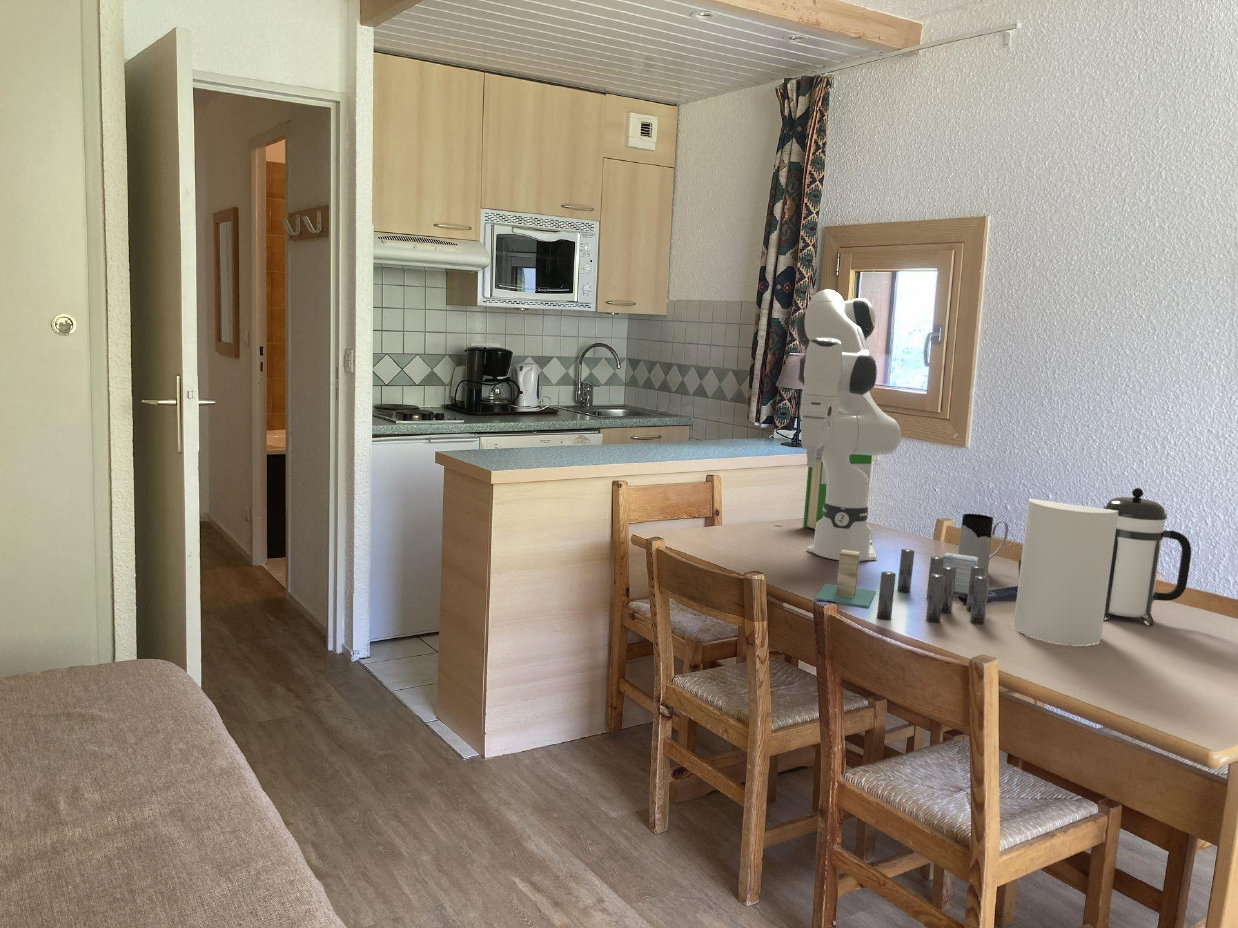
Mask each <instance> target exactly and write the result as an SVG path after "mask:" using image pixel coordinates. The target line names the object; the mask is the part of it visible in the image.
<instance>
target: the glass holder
mask: <svg viewBox="0 0 1238 928" xmlns="http://www.w3.org/2000/svg"><path fill="white" fill-rule="evenodd" d="M961 521H962V522H961V526H960V532H959V533H960V534H959V541H958V549H957V554H960V555H967V556H973V557H978V566H982V567H985V574H984V576H985V577H989V576H990V573H989V563H990V560H991V559H992V558H993V557H994V556H995V555H996V554H997V553H998V552H999V551H1000V550H1002V548H1003V546H1004V545H1005V543H1006V541H1007V538H1008V534H1009V525H1008V523H1006V521H1003V520H999V521H997V522H995V524H994V523H993V522H994V517H992V516H989V515H985V514H979V513H963V514H962V520H961ZM1000 523H1003V524H1004V526H1005V532H1004V537H1003V540H1002V542H1000V545H999V546H998V548H996V550H995V551H994V552H993V553H991V547H992V540H993V539H992V538H993V537H994V536H995V534H996V529H997V526H998V525H1000ZM993 524H994V525H993ZM988 575H989V576H988Z"/></svg>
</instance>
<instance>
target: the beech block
mask: <svg viewBox="0 0 1238 928" xmlns="http://www.w3.org/2000/svg"><path fill="white" fill-rule="evenodd" d="M859 554H860V552H857V551H849V550H842V551H841V552H840V557H839V560H838V566H837V567H838V570H837V580H836V585H837V588H836V595H838V596H845V597H851V598H854V596H855V594H856V588H857V585H858V583H857V582H858V576H859V575H858V573H859V564H860V561H859Z"/></svg>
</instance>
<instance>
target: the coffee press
mask: <svg viewBox="0 0 1238 928" xmlns="http://www.w3.org/2000/svg"><path fill="white" fill-rule="evenodd" d="M1131 494H1132V496H1133V497H1132V496H1131V497H1129V496H1124V497H1123V496H1118V497H1114V498H1112V499H1109V501H1108V502H1107V503H1106V505H1105V506H1103V509H1109V510H1116V511H1118V518H1117V525H1116V533H1115V540H1114V547H1113V555H1112V562H1111V570H1110V577H1109V584H1108V592H1107V599H1106V606H1105V614H1104V619H1105V617H1106V618H1108V619H1109V618H1110V617H1111V616H1113V615H1114V616H1118V617H1119V616H1121V617H1125V618H1127V617H1128V618H1129V617H1130V618H1139V619H1141V621H1142V622H1143V621H1148V620H1149V622H1150V623H1154V624H1155V620H1154V618H1153V617H1152V614H1151V613H1152V609H1153V603H1154V602H1155V601H1165V602H1166V601H1167V602H1169V601H1173V600H1177V599H1178V598H1179V597H1181V596H1182V595H1183V594H1184V593H1185V590H1186V588H1187V584H1188V579H1189V572H1190V566H1191V558H1192V557H1191V556H1192V546H1191V543H1190V541H1189V539H1188V537H1186V536H1185V534H1183V533H1180V532H1178V531H1175V530H1171V529H1170V530H1164V527H1165V521H1166V520H1167V518H1168V514H1167V513H1166V510H1165V508H1164V506H1163V505H1161V504H1160V503H1158V502H1157V501H1153V500H1149V499H1146V498H1141V497H1142V496H1143V495H1144V491H1143V489H1141V488H1140V487H1135V488H1133V490H1132V491H1131ZM1164 538H1167V539H1168V538H1169V539H1171V540H1176V541H1177V542H1179V544H1180V547H1181V554H1180V562H1179V569H1178V576H1177V582H1176V586H1175V587H1174V589H1172V590H1171V591H1169V592H1158V591H1157V592H1156V591H1155V588H1156V581H1157V576H1158V566H1159V560H1160V555H1161V554H1160V553H1161V547H1162V546H1161V545H1162V540H1164ZM1145 617H1147V619H1148V620H1147V619H1146V618H1145ZM1150 623H1149V624H1150Z"/></svg>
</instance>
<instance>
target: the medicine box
mask: <svg viewBox="0 0 1238 928" xmlns="http://www.w3.org/2000/svg"><path fill="white" fill-rule="evenodd" d="M942 558H944V566H947V567H954V568H956V578H955V587H954V593H959V594H966V595H968V589H969V581H970V572H971V566H973V565H976V566H978V557H973V556H967V555H960V554H958V553H951V552H945V553H944V554H943V556H942ZM944 566H943V567H944Z"/></svg>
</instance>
